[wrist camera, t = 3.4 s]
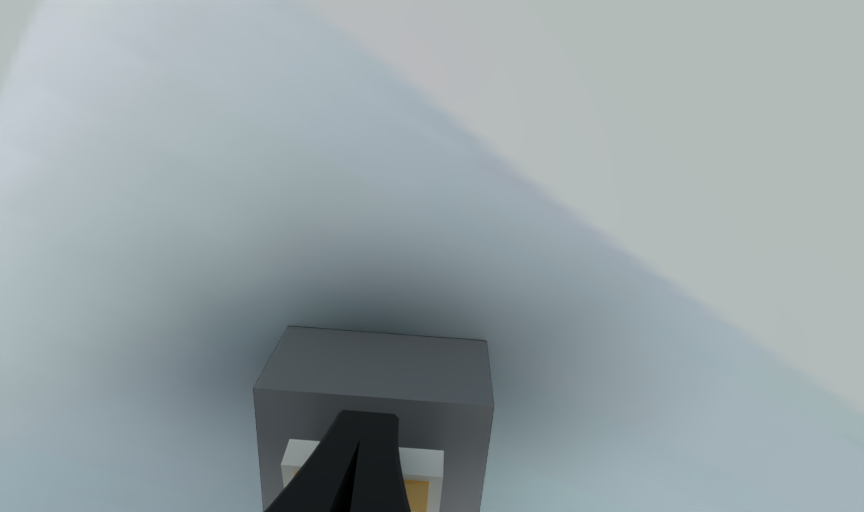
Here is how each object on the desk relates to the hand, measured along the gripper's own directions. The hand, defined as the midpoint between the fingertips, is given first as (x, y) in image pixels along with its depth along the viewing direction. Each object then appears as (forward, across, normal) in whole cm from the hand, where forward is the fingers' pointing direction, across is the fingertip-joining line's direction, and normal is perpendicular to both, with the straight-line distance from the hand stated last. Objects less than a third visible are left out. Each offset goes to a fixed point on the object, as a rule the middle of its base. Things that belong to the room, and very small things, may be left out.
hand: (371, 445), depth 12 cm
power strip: (+4, 0, +7) cm, 8 cm away
